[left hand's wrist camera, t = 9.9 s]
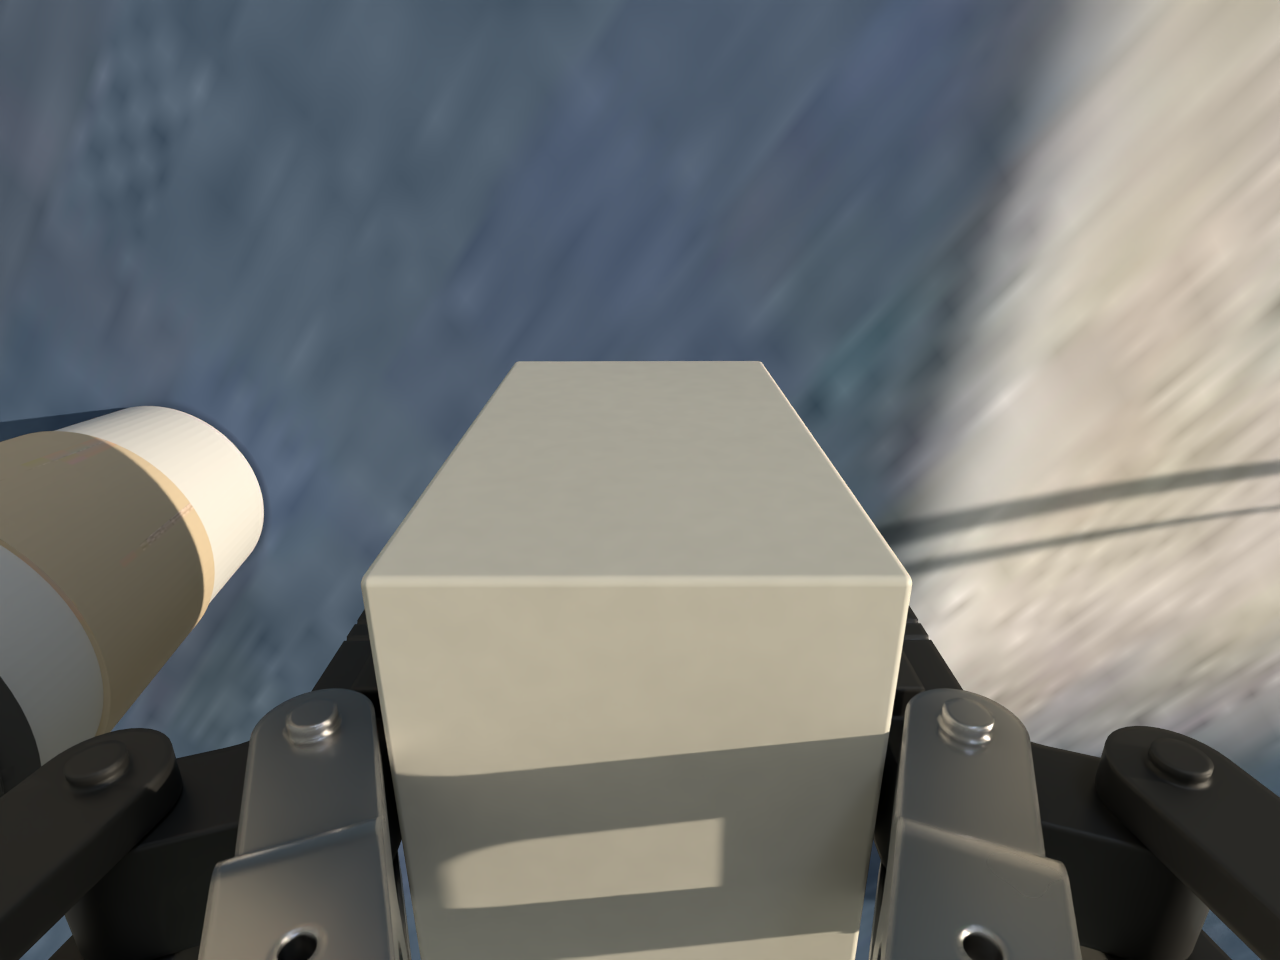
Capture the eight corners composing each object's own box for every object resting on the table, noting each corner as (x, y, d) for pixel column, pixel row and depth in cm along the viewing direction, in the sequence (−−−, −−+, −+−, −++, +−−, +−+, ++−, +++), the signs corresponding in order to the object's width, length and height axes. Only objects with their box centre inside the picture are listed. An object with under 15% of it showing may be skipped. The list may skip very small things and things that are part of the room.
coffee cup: (47, 580, 28) (-536, 968, 14) (29, 349, 25) (-751, 556, 11) (289, 624, 29) (-36, 1034, 15) (302, 406, 26) (-98, 668, 12)
